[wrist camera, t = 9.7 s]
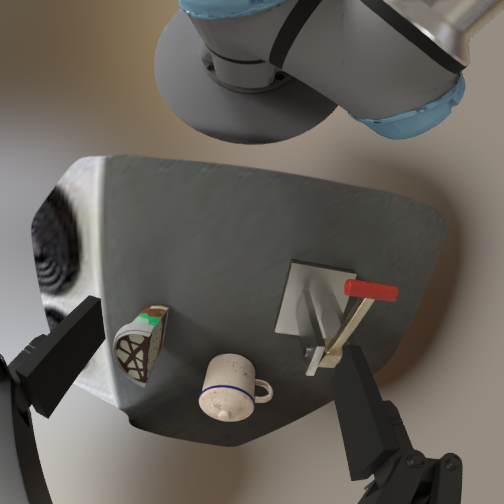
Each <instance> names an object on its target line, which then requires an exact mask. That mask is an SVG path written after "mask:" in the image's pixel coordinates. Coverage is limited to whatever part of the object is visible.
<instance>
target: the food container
mask: <svg viewBox="0 0 504 504" xmlns="http://www.w3.org/2000/svg"><path fill="white" fill-rule="evenodd" d="M168 312H169V306H167V305H163V304H154V305H151V306H148V307H147V308H145V309H144V310H143V311H142V312H141V313H140V314H139V315H138V316H137V317H136V319H135V320H134V321H133V322H132V323H130V324H127V325H125V326H123V327H122V328H121V329H120V330H119V331H118V332H117V334H116V337H115V340H114V343H113V357H114V360H115V362H116V364H117V366H118V368H119V369H120V370H121V371H122V373H123V374H124V375H125V376H126V377H128V378H129V379H130V380H131V381H133V382H134V383H136V384H138V385H140V386H142V387H144V388H145V386H146V384H147V383H148V379H149V376H150V374H151V372H152V370H153V367H154V365H155V363H156V361H157V358H158V356H159V354H160V352H161V350H162V347H163V342H164V336H165V329H166V323H167V317H168Z"/></svg>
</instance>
